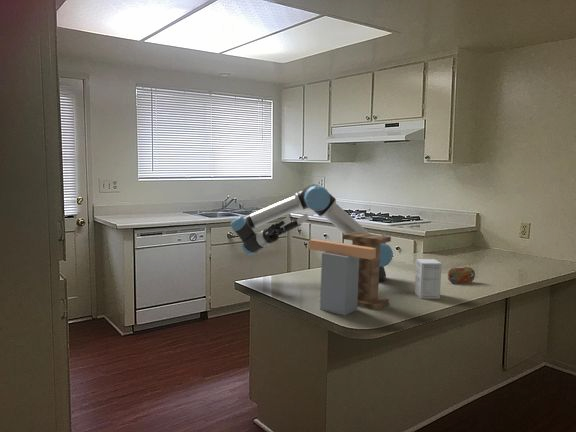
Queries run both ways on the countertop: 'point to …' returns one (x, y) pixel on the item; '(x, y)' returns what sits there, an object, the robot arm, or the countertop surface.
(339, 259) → the slate block
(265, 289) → the countertop surface
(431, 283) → the supplement box
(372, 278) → the stand
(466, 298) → the countertop surface
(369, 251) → the rod
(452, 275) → the tin
